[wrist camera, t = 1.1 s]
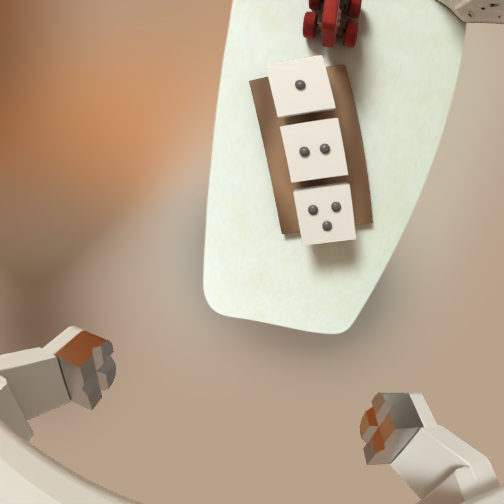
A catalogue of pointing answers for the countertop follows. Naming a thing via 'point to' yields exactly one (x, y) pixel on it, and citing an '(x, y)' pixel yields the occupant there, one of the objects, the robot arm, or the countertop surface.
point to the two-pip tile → (314, 150)
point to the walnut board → (342, 111)
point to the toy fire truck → (332, 21)
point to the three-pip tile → (325, 213)
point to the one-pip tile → (300, 86)
